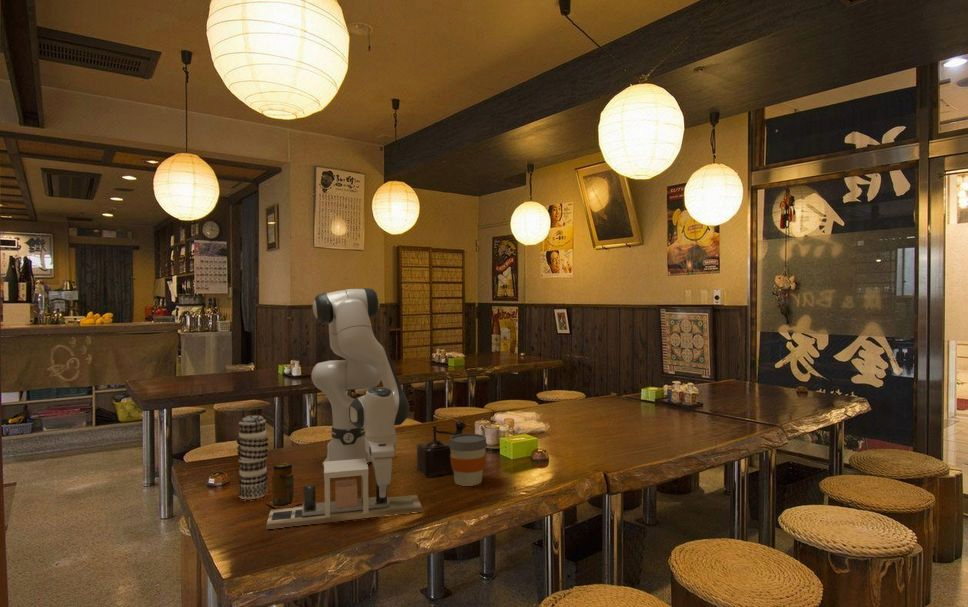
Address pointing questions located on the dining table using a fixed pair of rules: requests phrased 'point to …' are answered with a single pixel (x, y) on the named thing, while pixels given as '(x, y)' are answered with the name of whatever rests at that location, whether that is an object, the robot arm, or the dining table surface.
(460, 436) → the reusable coffee cup
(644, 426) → the dining table surface
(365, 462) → the tunnel
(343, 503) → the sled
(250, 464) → the round tower model
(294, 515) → the track
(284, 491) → the condiment
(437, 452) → the black coffee grinder
